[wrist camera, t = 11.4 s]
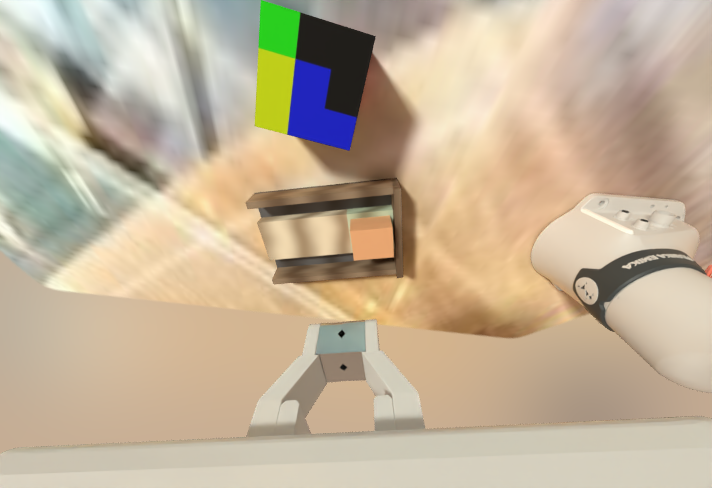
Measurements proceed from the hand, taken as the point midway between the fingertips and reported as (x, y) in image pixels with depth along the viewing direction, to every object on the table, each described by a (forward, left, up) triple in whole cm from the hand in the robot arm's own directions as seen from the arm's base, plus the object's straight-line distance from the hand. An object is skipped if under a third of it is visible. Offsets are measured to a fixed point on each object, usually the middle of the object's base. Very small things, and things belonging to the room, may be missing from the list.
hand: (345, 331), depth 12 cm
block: (-2, +10, -29) cm, 30 cm away
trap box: (+5, +10, -31) cm, 33 cm away
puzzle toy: (+3, -10, -31) cm, 33 cm away
